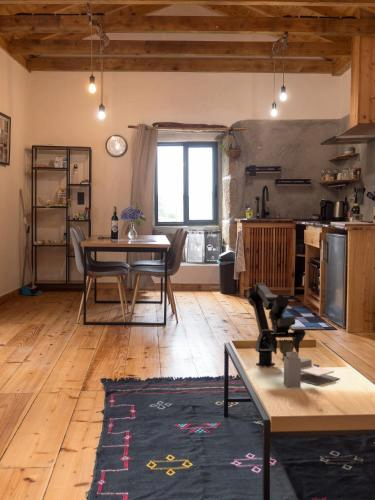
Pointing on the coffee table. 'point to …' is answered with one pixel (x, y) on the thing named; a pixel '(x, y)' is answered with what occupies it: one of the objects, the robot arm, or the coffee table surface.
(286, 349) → the cup
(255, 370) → the coffee table surface
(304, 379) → the stand
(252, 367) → the coffee table surface
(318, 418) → the coffee table surface
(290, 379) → the stone pillar
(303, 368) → the trapdoor flap
